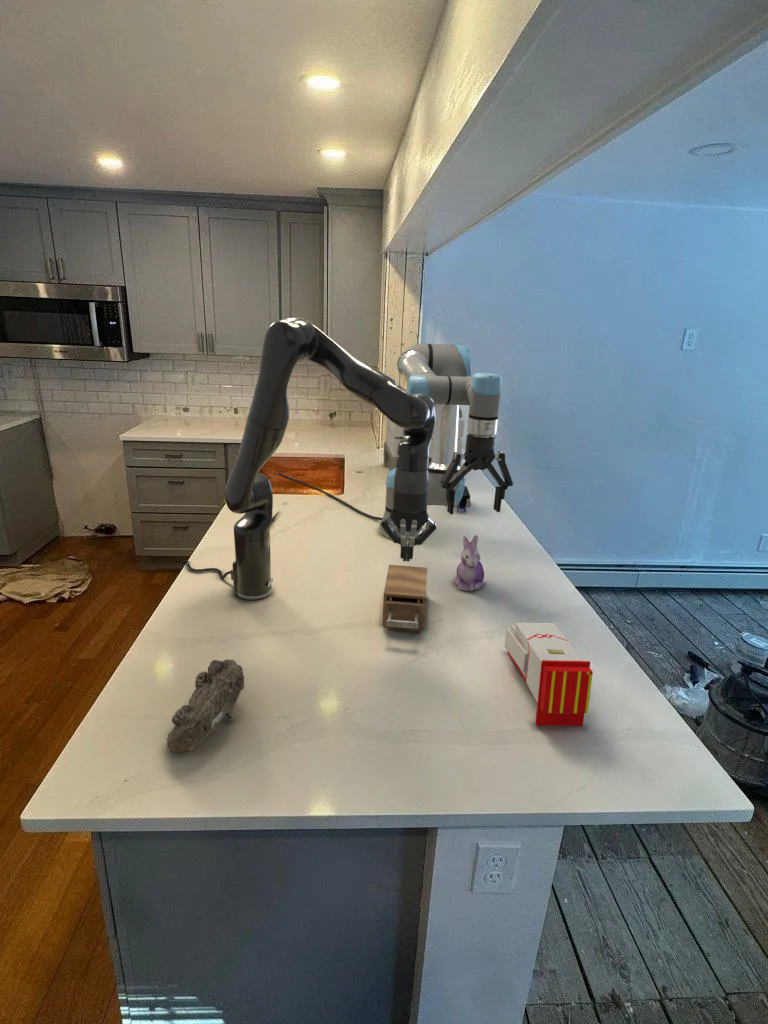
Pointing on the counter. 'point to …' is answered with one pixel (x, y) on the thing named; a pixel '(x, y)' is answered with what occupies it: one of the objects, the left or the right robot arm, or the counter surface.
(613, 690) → the counter surface
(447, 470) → the right robot arm
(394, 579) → the cabinet
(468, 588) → the figurine
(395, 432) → the grey storage bin
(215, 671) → the fossil
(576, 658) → the toy
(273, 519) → the feather
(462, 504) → the figurine character
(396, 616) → the drawer
